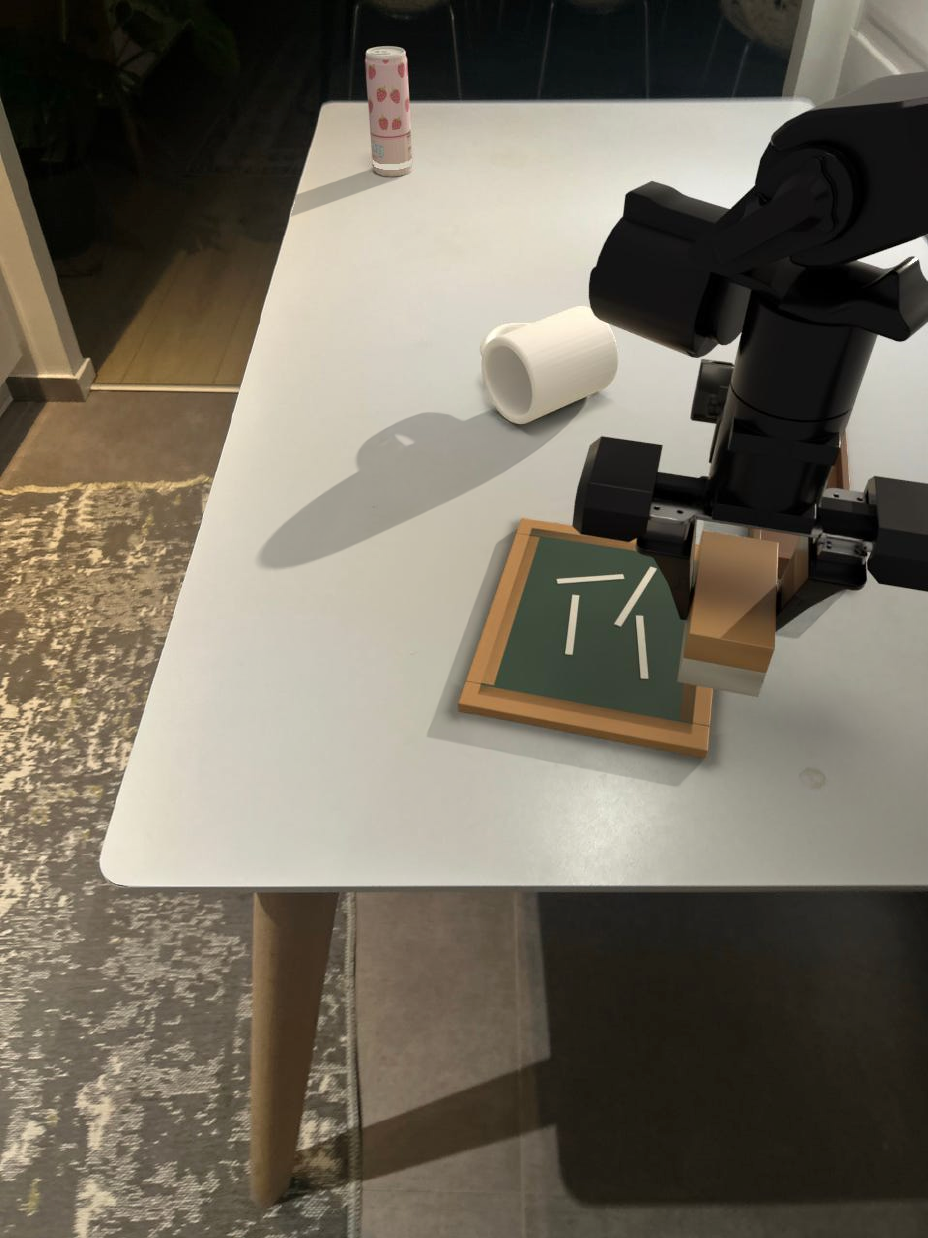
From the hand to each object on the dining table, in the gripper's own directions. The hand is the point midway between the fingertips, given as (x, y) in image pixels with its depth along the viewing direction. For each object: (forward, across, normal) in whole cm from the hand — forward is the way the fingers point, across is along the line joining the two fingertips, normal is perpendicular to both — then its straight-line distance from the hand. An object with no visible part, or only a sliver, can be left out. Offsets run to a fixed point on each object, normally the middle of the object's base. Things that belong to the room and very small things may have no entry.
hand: (725, 622), depth 54 cm
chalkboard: (+8, +7, -6) cm, 13 cm away
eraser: (+1, 0, 0) cm, 1 cm away
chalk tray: (+8, -6, -30) cm, 32 cm away
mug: (+9, +19, -36) cm, 42 cm away
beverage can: (+10, +51, -91) cm, 105 cm away
